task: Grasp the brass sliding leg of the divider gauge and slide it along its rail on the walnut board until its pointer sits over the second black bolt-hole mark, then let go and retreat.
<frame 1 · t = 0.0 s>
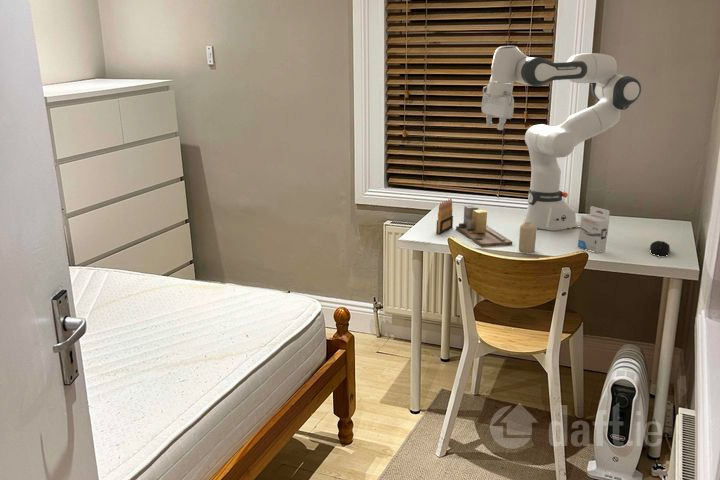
hand: (494, 128, 257), 39 cm above the table, tool pointing down, fingers open, 8 cm apart
ammunition clip: (444, 231, 264), on the table
gauge board: (483, 236, 256), on the table
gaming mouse: (659, 254, 239), on the table
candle: (526, 250, 240), on the table
ink box: (591, 250, 242), on the table
sliding leg: (476, 221, 256), point 6 cm above the table, slide at 3.0 cm
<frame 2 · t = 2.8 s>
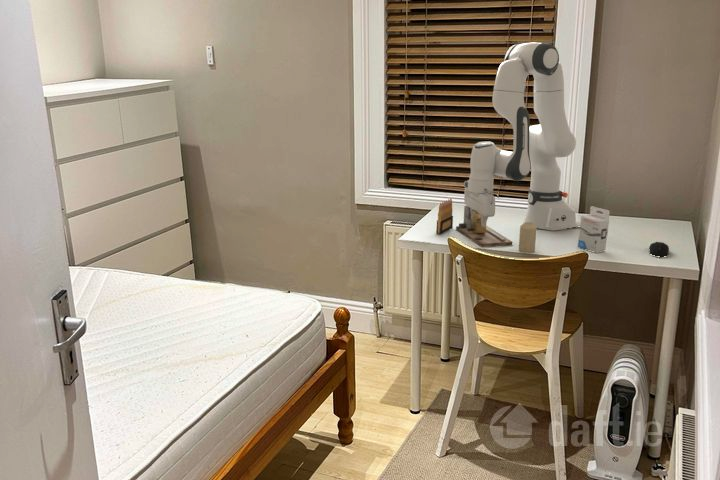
hand: (478, 222, 256), 5 cm above the table, tool pointing down, fingers open, 7 cm apart
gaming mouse: (658, 255, 238), on the table
everything else where it was.
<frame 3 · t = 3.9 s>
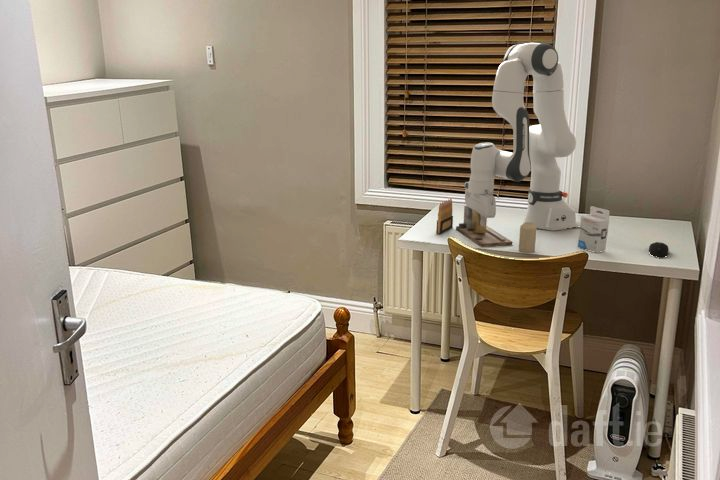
hand: (479, 223, 256), 5 cm above the table, tool pointing down, fingers closed on sliding leg, 4 cm apart
sliding leg: (476, 221, 256), point 5 cm above the table, slide at 3.1 cm, touching gripper
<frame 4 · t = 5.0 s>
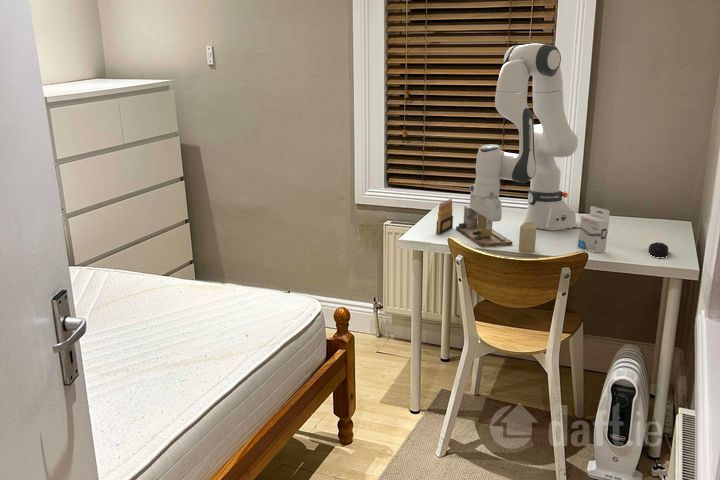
hand: (484, 227, 252), 5 cm above the table, tool pointing down, fingers closed on sliding leg, 4 cm apart
sliding leg: (481, 225, 251), point 5 cm above the table, slide at 8.0 cm, touching gripper
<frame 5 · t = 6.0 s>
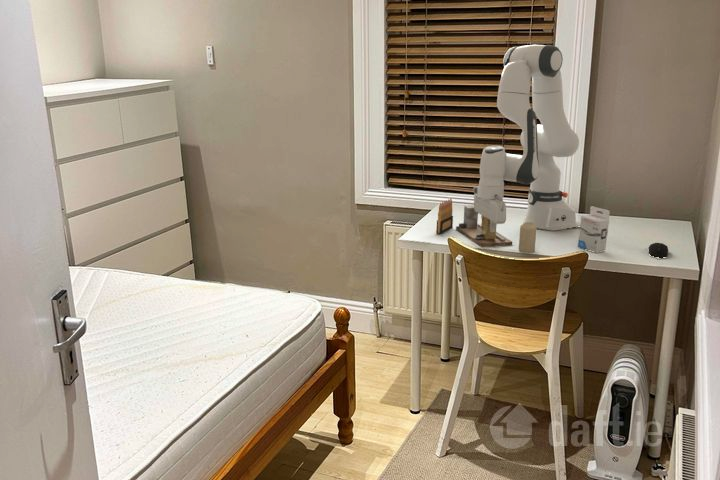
hand: (488, 229, 249), 5 cm above the table, tool pointing down, fingers closed on sliding leg, 4 cm apart
sliding leg: (485, 227, 248), point 5 cm above the table, slide at 11.5 cm, touching gripper
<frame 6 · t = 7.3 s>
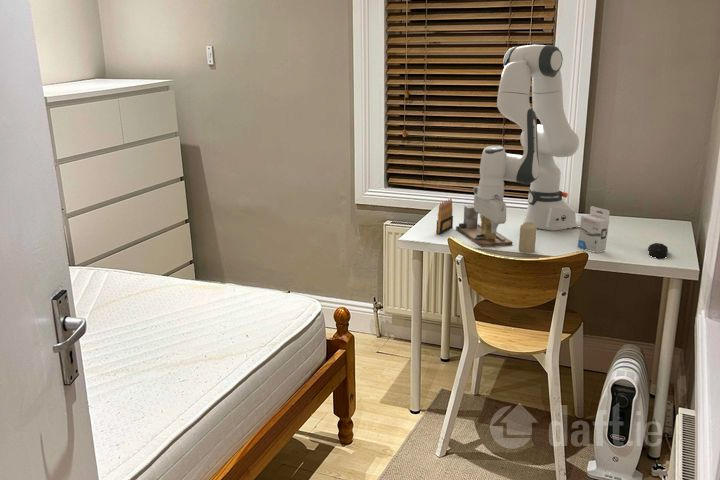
hand: (488, 229, 249), 5 cm above the table, tool pointing down, fingers open, 6 cm apart
sliding leg: (485, 227, 248), point 5 cm above the table, slide at 11.5 cm
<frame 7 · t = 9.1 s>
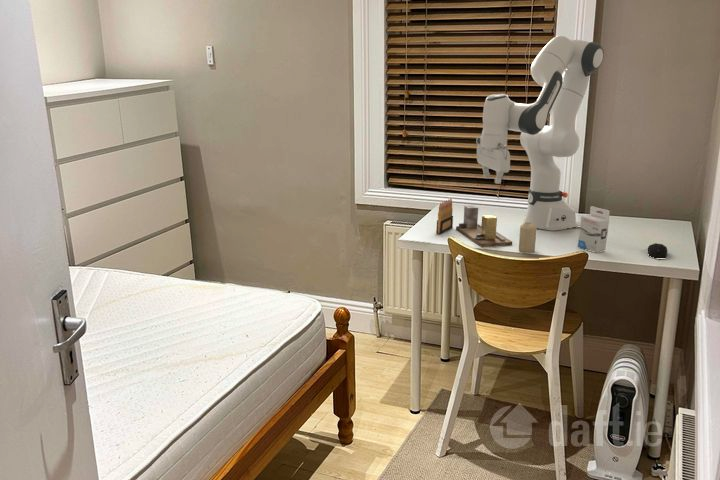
hand: (491, 180, 243), 23 cm above the table, tool pointing down, fingers open, 8 cm apart
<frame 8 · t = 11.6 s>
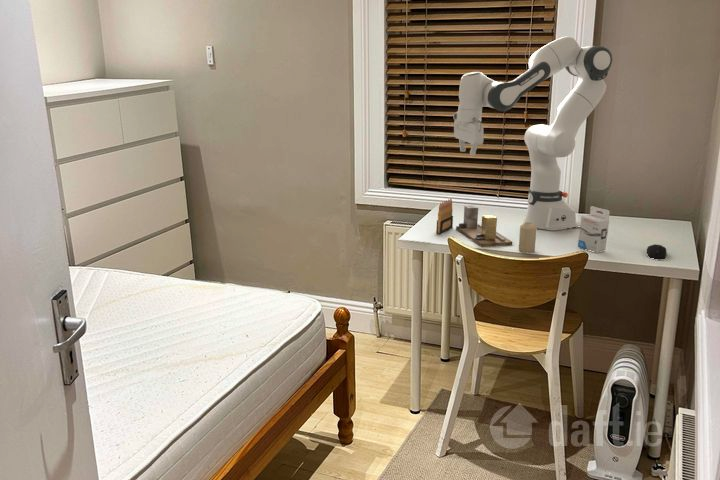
hand: (467, 153, 260), 29 cm above the table, tool pointing down, fingers open, 8 cm apart
at the end: sliding leg slide at 11.5 cm; the gripper is holding nothing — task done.
